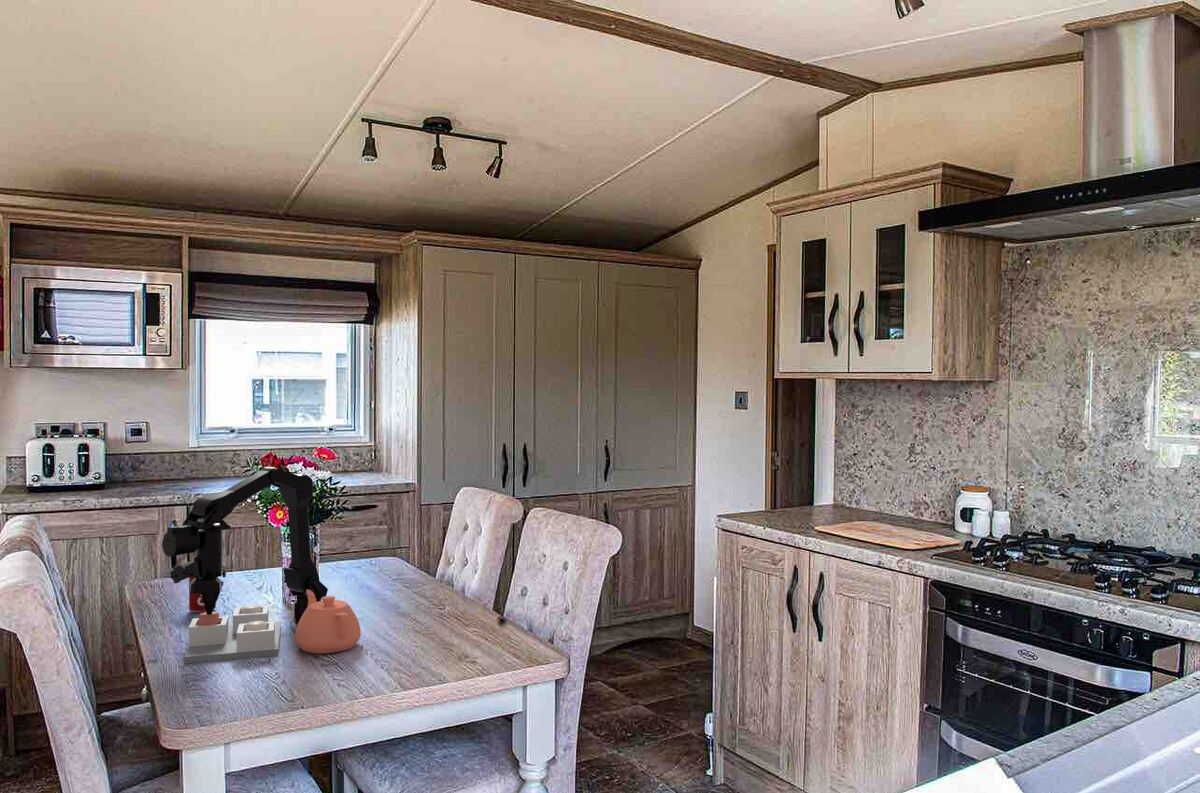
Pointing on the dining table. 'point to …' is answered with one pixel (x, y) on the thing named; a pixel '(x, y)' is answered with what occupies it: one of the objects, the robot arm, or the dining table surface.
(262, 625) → the plug
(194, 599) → the soda can
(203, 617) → the red plug
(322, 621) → the teapot
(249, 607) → the plug
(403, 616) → the dining table surface
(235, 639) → the panel
